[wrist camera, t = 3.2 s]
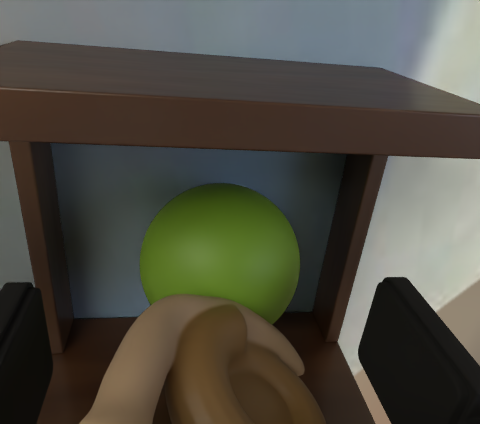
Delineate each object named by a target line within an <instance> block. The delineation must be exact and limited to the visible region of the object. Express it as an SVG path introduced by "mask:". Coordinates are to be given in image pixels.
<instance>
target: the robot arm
mask: <svg viewBox="0 0 480 424" xmlns="http://www.w3.org/2000/svg"><path fill="white" fill-rule="evenodd" d="M358 356H359V360H360V363H361V365H362V367H363V368H364V370H365V372H366V374H367V376H368V378H369V380H370V382H371V384H372V386H373V388H374V390H375V392H376V394H377V396H378V398H379V400H380V402H381V404H382V406H383V408H384V410H385V412H386V414H387V416H388V418H389V420H390V422H391V424H480V366H479V365H478V363H477V362H476V361H475V360H474V359H473V357H472V356H471V355H470V354H469V353H468V351H467V350H466V349H465V348H464V346H463V345H462V344H461V343H460V342H459V341H458V339H457V338H456V337H455V336H454V334H453V333H452V332H451V331H450V329H449V328H448V327H447V326H446V325H445V323H444V322H443V321H442V320H441V319H440V317H439V316H438V315H437V314H436V312H435V311H434V310H433V309H432V308H431V306H430V305H429V304H428V303H427V302H426V300H425V299H424V298H423V297H422V295H421V294H420V293H419V292H418V291H417V289H416V288H415V287H414V286H413V285H412V283H411V282H410V281H409V280H408V279H407V278H405V277H387V278H385V279H384V280H383V281H382V282H380V283H379V284H378V285H377V288H376V291H375V295H374V298H373V301H372V305H371V308H370V311H369V315H368V318H367V321H366V325H365V328H364V331H363V335H362V338H361V341H360V345H359V348H358ZM52 374H53V358H52V352H51V346H50V341H49V335H48V329H47V323H46V317H45V311H44V306H43V300H42V294H41V290H40V288H34V287H33V284H32V283H30V282H25V283H6V284H5V285H4V286H3V288H2V290H1V291H0V424H37V420H38V417H39V414H40V411H41V408H42V405H43V402H44V399H45V396H46V393H47V390H48V387H49V384H50V381H51V378H52Z"/></svg>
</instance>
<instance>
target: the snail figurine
mask: <svg viewBox="0 0 480 424" xmlns="http://www.w3.org/2000/svg"><path fill="white" fill-rule="evenodd" d="M299 273H300V254H299V248H298V243H297V240H296V237H295V234H294V232H293V229H292V227H291V225H290V223H289V222H288V220H287V219H286V217H285V216H284V214H283V213H282V212H281V211H280V210H279V208H278V207H277V206H276V205H275V204H273V203H272V202H271V201H270V200H269V199H267V198H266V197H264V196H263V195H261V194H260V193H258V192H256V191H254V190H251V189H249V188H246V187H243V186H239V185H235V184H228V183H213V184H206V185H201V186H198V187H195V188H192V189H189V190H187V191H185V192H183V193H181V194H179V195H178V196H176V197H175V198H173V199H172V200H171V201H169V202H168V203H167V204H166V205H165V206H164V207H163V208H162V209H161V210H160V211H159V212H158V214H157V215H156V216H155V218H154V219H153V221H152V222H151V224H150V226H149V228H148V230H147V232H146V234H145V237H144V240H143V243H142V248H141V253H140V275H141V281H142V285H143V289H144V292H145V294H146V297H147V299H148V301H149V303H150V305H151V306H149V307H148V308H147V309H146V310H145V311H144V312H143V313H142V314H141V315H140V316H139V317H138V318H137V319H136V321H135V322H134V323H133V324H132V326H131V327H130V329H129V330H128V332H127V333H126V335H125V337H124V338H123V340H122V342H121V344H120V346H119V348H118V350H117V351H116V353H115V355H114V357H113V359H112V361H111V363H110V365H109V367H108V369H107V371H106V373H105V375H104V378H103V380H102V383H101V385H100V388H99V391H98V394H97V396H96V399H95V402H94V404H93V406H92V408H91V410H90V411H89V413H88V414H87V415H86V416H85V417H84V419H83V420H82V421H81V422H80V423H79V424H152V423H153V417H154V413H155V409H156V406H157V403H158V400H159V396H160V393H161V390H162V387H163V385H165V397H166V403H167V408H168V412H169V416H170V420H171V423H172V424H326V421H325V418H324V416H323V414H322V412H321V410H320V408H319V406H318V404H317V402H316V400H315V398H314V397H313V395H312V394H311V392H310V391H309V389H308V388H307V387H306V385H305V384H304V383H303V381H302V380H301V379H300V378H299V377H298V376H301V375H303V374H304V370H305V369H304V365H303V362H302V360H301V358H300V357H299V355H298V353H297V352H296V350H295V349H294V348H293V346H292V345H291V343H290V342H289V341H288V340H287V339H286V337H285V336H284V335H283V334H282V333H281V332H280V331H279V330H278V329H277V328H275V327H274V326H273V325H272V324H274V323H275V322H276V321H277V320H278V319H279V317H280V316H281V315H282V314H283V313H284V311H285V310H286V308H287V307H288V305H289V303H290V302H291V300H292V298H293V295H294V293H295V290H296V287H297V284H298V279H299Z"/></svg>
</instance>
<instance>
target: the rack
mask: <svg viewBox="0 0 480 424" xmlns="http://www.w3.org/2000/svg"><path fill="white" fill-rule="evenodd" d="M0 141H9V145H10V150H11V156H12V161H13V167H14V172H15V178H16V183H17V189H18V194H19V200H20V205H21V211H22V216H23V221H24V227H25V232H26V238H27V243H28V249H29V254H30V260H31V265H32V271H33V276H34V282H35V287H36V288H40V290H41V294H42V300H43V306H44V311H45V317H46V323H47V329H48V335H49V341H50V346H51V352H52V358H53V374H52V378H51V381H50V384H49V387H48V390H47V393H46V396H45V399H44V402H43V405H42V408H41V411H40V414H39V417H38V420H37V424H79V423H80V422H81V421H82V420H83V419H84V417H85V416H86V415H87V414H88V413H89V411H90V410H91V408H92V406H93V404H94V402H95V399H96V396H97V394H98V391H99V388H100V385H101V383H102V380H103V378H104V375H105V373H106V371H107V369H108V367H109V365H110V363H111V361H112V359H113V357H114V355H115V353H116V351H117V350H118V348H119V346H120V344H121V342H122V340H123V338H124V337H125V335H126V333H127V332H128V330H129V329H130V327H131V326H132V324H133V323H134V322H135V321H136V319H137V318H138V317H128V318H94V319H74V316H73V308H72V301H71V293H70V286H69V278H68V271H67V263H66V256H65V248H64V241H63V233H62V226H61V218H60V211H59V203H58V196H57V188H56V181H55V174H54V166H53V159H52V151H51V144H50V143H66V144H93V145H119V146H146V147H172V148H199V149H225V150H252V151H278V152H305V153H331V154H347V158H346V162H345V167H344V171H343V176H342V180H341V185H340V190H339V194H338V199H337V203H336V208H335V212H334V217H333V221H332V226H331V230H330V235H329V239H328V244H327V248H326V253H325V257H324V262H323V266H322V271H321V275H320V280H319V284H318V289H317V293H316V298H315V302H314V307H313V312H297V313H283V314H282V315H281V316H280V317H279V319H278V320H277V321H276V322H275V323H274V324H272V325H273V326H274V327H275V328H277V329H278V330H279V331H280V332H281V333H282V334H283V335H284V336H285V337H286V339H287V340H288V341H289V342H290V343H291V345H292V346H293V348H294V349H295V350H296V352H297V353H298V355H299V357H300V358H301V360H302V362H303V365H304V369H305V370H304V374H303V375H301V376H298V377H299V378H300V379H301V380H302V381H303V383H304V384H305V385H306V387H307V388H308V389H309V391H310V392H311V394H312V395H313V397H314V398H315V400H316V402H317V404H318V406H319V408H320V410H321V412H322V414H323V416H324V418H325V421H326V424H375V422H374V420H373V417H372V415H371V413H370V411H369V409H368V407H367V404H366V402H365V400H364V398H363V396H362V394H361V392H360V389H359V387H358V385H357V383H356V381H355V379H354V376H353V374H352V372H351V370H350V368H349V366H348V364H347V361H346V359H345V357H344V355H343V353H342V351H341V348H340V346H339V344H338V342H337V341H338V339H339V335H340V331H341V328H342V324H343V320H344V317H345V313H346V309H347V306H348V302H349V298H350V295H351V291H352V287H353V283H354V280H355V276H356V272H357V269H358V265H359V261H360V258H361V254H362V250H363V247H364V243H365V239H366V236H367V232H368V228H369V225H370V221H371V217H372V213H373V210H374V206H375V202H376V199H377V195H378V191H379V188H380V184H381V180H382V177H383V173H384V169H385V166H386V162H387V158H388V156H411V157H437V158H464V159H480V104H478V103H476V102H473V101H470V100H468V99H465V98H462V97H459V96H457V95H454V94H451V93H448V92H446V91H443V90H440V89H437V88H435V87H432V86H429V85H426V84H424V83H421V82H418V81H415V80H413V79H410V78H407V77H405V76H402V75H399V74H396V73H394V72H391V71H388V70H385V69H383V68H375V67H362V66H349V65H336V64H323V63H309V62H296V61H283V60H270V59H257V58H243V57H230V56H217V55H204V54H191V53H177V52H164V51H151V50H138V49H125V48H111V47H98V46H85V45H72V44H59V43H45V42H32V41H19V40H18V41H14V42H11V43H8V44H4V45H1V46H0ZM152 424H172V423H171V420H170V416H169V412H168V408H167V403H166V397H165V385H163V387H162V390H161V393H160V396H159V400H158V403H157V406H156V409H155V413H154V417H153V423H152Z"/></svg>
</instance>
